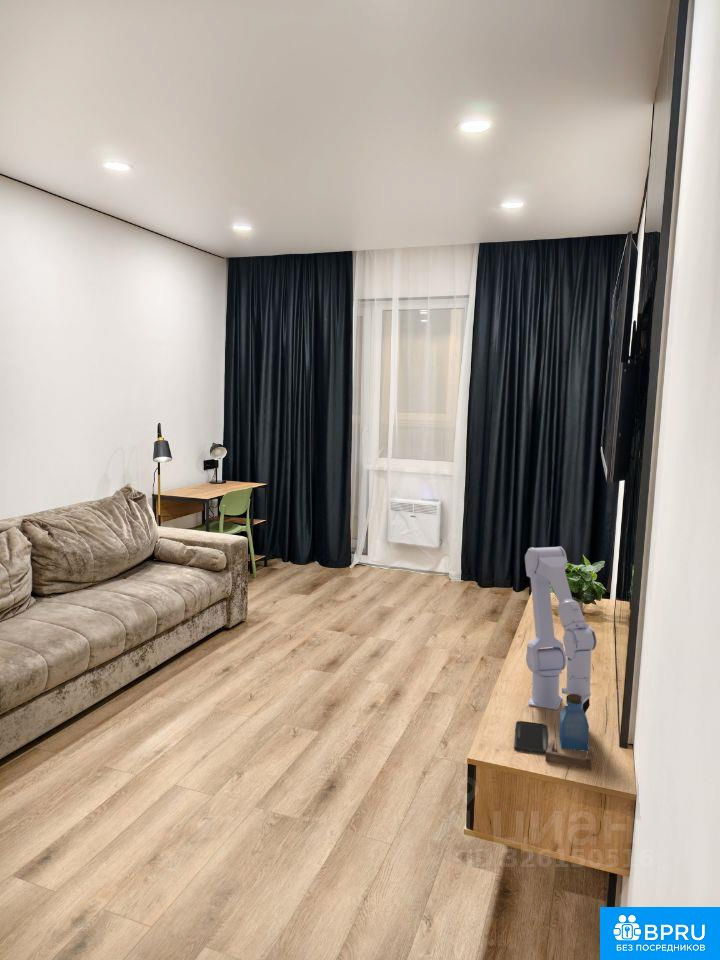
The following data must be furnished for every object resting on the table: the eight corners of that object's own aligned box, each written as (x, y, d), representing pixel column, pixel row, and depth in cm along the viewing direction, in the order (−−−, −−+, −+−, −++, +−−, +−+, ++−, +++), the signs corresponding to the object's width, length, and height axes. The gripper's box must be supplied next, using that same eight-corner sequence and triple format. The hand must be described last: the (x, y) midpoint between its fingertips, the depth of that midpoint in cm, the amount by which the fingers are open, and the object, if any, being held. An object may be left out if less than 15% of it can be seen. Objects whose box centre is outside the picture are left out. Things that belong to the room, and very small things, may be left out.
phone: (547, 724, 168) (547, 751, 154) (547, 728, 169) (547, 756, 154) (515, 720, 171) (513, 747, 156) (515, 724, 171) (513, 751, 156)
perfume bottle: (585, 739, 162) (586, 692, 161) (588, 751, 156) (589, 703, 155) (559, 736, 163) (560, 690, 162) (561, 748, 157) (562, 700, 156)
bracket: (550, 746, 158) (550, 738, 158) (593, 755, 154) (593, 747, 154) (545, 760, 151) (545, 752, 151) (590, 769, 147) (591, 761, 147)
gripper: (562, 662, 174) (561, 712, 175) (561, 683, 160) (560, 736, 161) (590, 665, 172) (589, 715, 173) (592, 686, 158) (590, 740, 159)
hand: (577, 726), depth 167 cm, fingers closed
